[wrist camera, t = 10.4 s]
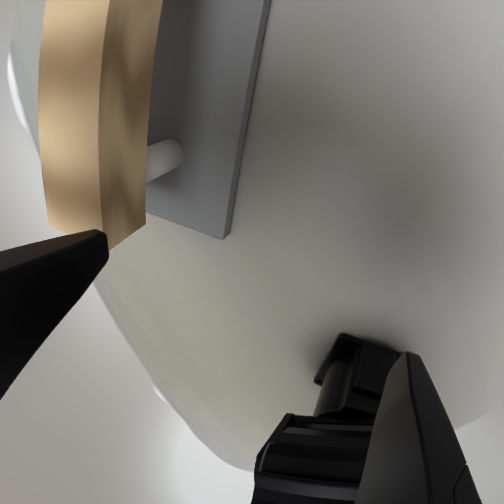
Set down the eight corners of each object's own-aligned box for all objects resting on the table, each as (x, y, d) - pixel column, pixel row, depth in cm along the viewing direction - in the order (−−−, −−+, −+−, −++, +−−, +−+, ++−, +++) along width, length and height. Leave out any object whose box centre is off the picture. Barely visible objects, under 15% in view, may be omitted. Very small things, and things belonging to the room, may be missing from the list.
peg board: (229, 233, 22) (193, 271, 18) (103, 189, 25) (60, 213, 21) (288, -82, 10) (258, -121, 6) (130, -64, 12) (82, -78, 8)
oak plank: (145, 224, 18) (105, 253, 15) (88, 202, 19) (49, 225, 16) (184, -88, 8) (139, -110, 5) (111, -68, 9) (66, -79, 6)
